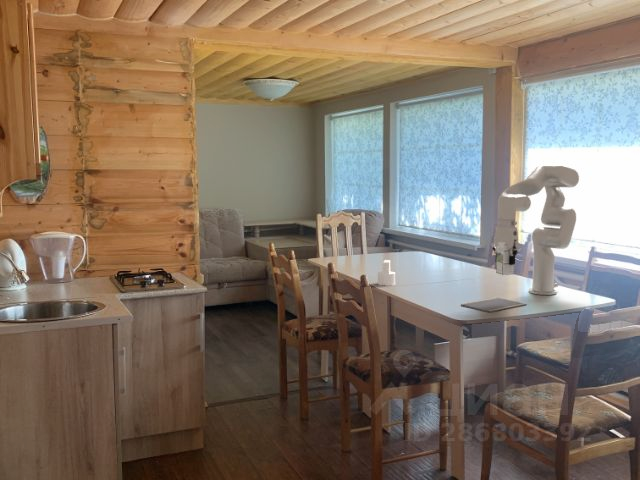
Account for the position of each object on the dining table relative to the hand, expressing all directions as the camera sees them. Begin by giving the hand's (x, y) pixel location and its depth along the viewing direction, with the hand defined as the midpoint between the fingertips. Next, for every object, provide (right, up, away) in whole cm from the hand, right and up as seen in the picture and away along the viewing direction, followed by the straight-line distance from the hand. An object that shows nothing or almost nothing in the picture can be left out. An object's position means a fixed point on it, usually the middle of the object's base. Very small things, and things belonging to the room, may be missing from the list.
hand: (505, 263), depth 284 cm
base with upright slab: (-48, -13, +47) cm, 68 cm away
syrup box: (0, -5, +1) cm, 5 cm away
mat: (-6, -18, -3) cm, 20 cm away
